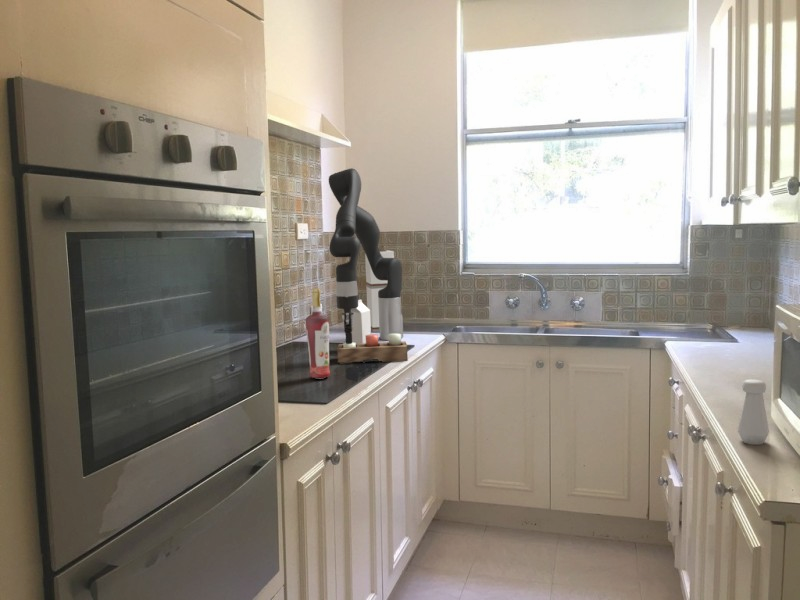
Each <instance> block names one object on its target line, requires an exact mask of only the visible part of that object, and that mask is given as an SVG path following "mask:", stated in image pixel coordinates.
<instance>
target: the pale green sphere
mask: <svg viewBox="0 0 800 600" xmlns="http://www.w3.org/2000/svg"><path fill="white" fill-rule="evenodd" d="M342 344H343V348H351V347H356V343H354V342H352V343H351V344H346V342H343V343H342Z"/></svg>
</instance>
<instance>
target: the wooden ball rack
mask: <svg viewBox="0 0 800 600" xmlns="http://www.w3.org/2000/svg"><path fill="white" fill-rule="evenodd" d="M378 344H379V345H378V346H366V343H356V347H351V348H343V343H339V344H338V346H337V363H338V362H349V361H352V362H353V361H363V360H367V359H378V360H379V361H382V362H383V363H384V362H385V363H386V362H406V361H407V362H408V360H409V359H408V345H407V342H406V340H404V341H402V340H401V345H389V341H383V342H382V341H381V342H379V341H378ZM382 362H381V363H382Z"/></svg>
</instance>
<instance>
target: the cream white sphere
mask: <svg viewBox="0 0 800 600" xmlns="http://www.w3.org/2000/svg"><path fill="white" fill-rule="evenodd" d="M388 338H389V340H388V342H389V345H401V342H402V338H401V334H398V333H393V334H388Z"/></svg>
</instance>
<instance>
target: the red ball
mask: <svg viewBox="0 0 800 600" xmlns="http://www.w3.org/2000/svg"><path fill="white" fill-rule="evenodd" d="M378 342H379V334H377V333H376V334H372V333H371V334H370V335H366V346H378V345H379V344H378Z"/></svg>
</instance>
